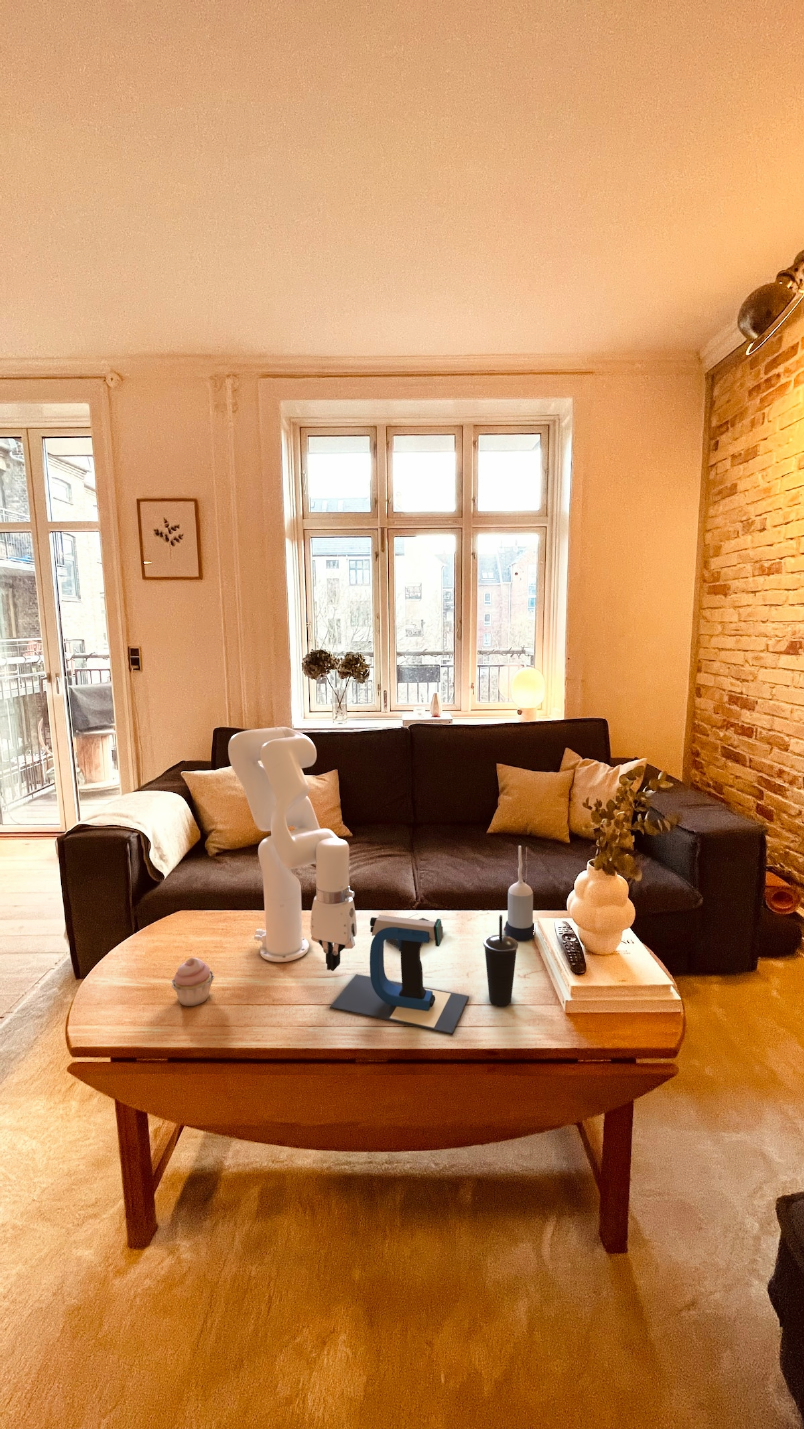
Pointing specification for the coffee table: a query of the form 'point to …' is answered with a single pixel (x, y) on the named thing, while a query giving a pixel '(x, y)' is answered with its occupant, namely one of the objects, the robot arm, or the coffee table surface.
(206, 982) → the cupcake
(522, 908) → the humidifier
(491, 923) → the coffee table surface
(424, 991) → the handheld scanner
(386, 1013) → the mat
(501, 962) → the drinking cup
